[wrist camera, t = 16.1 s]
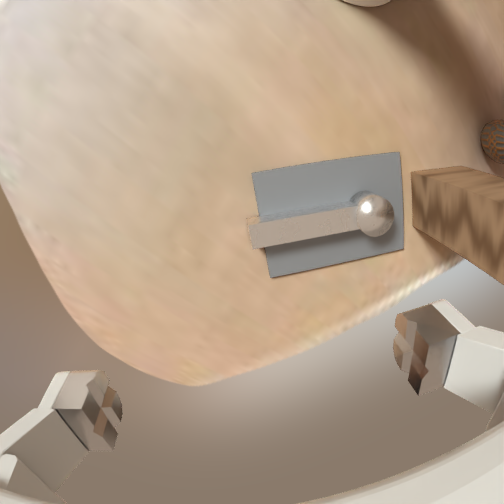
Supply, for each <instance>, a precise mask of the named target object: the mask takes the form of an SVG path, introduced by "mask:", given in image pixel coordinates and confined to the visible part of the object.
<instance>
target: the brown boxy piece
mask: <svg viewBox="0 0 504 504" xmlns="http://www.w3.org/2000/svg"><path fill="white" fill-rule="evenodd" d="M411 183H412V211H413V226H414V227H416V228H417V229H419V230H421V231H422V232H424V233H426V234H427V235H429V236H430V237H432V238H434V239H435V240H437V241H438V242H440V243H442V244H443V245H445V246H446V247H448V248H450V249H451V250H453V251H454V252H456V253H457V254H459V255H460V256H462V257H463V258H465V259H467V260H468V261H469V262H471V263H472V264H474V265H475V266H477V267H478V268H480V269H482V270H483V271H484V272H486V273H487V274H489V275H490V276H492V277H493V278H494V279H496V280H497V281H499V282H500V283H502V284H503V285H504V178H502V177H499V176H495V175H492V174H489V173H485V172H482V171H478V170H474V169H471V168H467V167H463V166H457V167H448V168H439V169H430V170H422V171H414V172H411Z"/></svg>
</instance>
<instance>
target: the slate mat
mask: <svg viewBox="0 0 504 504" xmlns="http://www.w3.org/2000/svg"><path fill="white" fill-rule="evenodd" d="M252 178H253V184H254V190H255V195H256V201H257V206H258V212H259V216H262V215H268V214H273V213H279V212H284V211H290V210H296V209H301V208H307V207H313V206H319V205H325V204H331V203H337V202H343V201H349V200H350V199H351V197H352V196H353V195H354V194H356V193H358V192H360V191H370V192H372V193H374V194H376V195H379V196H381V197H383V198H385V199H386V200H388V201H389V202H390V203H391V205H392V207H393V209H394V220H393V223H392V225H391V227H390V229H389V230H388V231H387V232H386V233H384V234H383V235H381V236H377V237H372V236H368V235H366V234H365V233H364V232H362V231H361V230H360V229H358V230H352V231H347V232H342V233H337V234H331V235H326V236H321V237H316V238H310V239H305V240H300V241H294V242H289V243H284V244H279V245H273V246H268V247H265V251H266V257H267V263H268V269H269V274H270V278H272V277H277V276H282V275H287V274H292V273H297V272H301V271H306V270H311V269H315V268H320V267H325V266H329V265H334V264H338V263H343V262H348V261H352V260H356V259H361V258H365V257H370V256H374V255H379V254H383V253H387V252H392V251H396V250H400V249H404V228H403V195H402V177H401V163H400V152H392V153H383V154H374V155H366V156H358V157H350V158H342V159H335V160H328V161H321V162H314V163H308V164H302V165H295V166H289V167H283V168H277V169H272V170H266V171H261V172H255V173H252Z"/></svg>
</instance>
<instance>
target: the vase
mask: <svg viewBox="0 0 504 504" xmlns="http://www.w3.org/2000/svg"><path fill="white" fill-rule="evenodd" d="M481 143H482V147H483V149H484V151H485V153H486V154H487V155H488V156H489V157H490V158H491V159H492V160H494V161H496V162H498V163H502V164H504V120H494V121H491V122H489V123H488V124H486V126H485V127H484V128H483V130H482V134H481Z"/></svg>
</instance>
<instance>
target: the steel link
mask: <svg viewBox="0 0 504 504" xmlns="http://www.w3.org/2000/svg"><path fill="white" fill-rule="evenodd" d="M246 219H247V225H248V230H249V236H250V241H251V245H252V249H258V248H263V247H268V246H273V245H279V244H284V243H289V242H294V241H300V240H305V239H310V238H316V237H321V236H326V235H331V234H337V233H342V232H347V231H352V230H358V229H360V230H361V231H362V232H364V233H365V234H366V235H368V236H372V237H377V236H381V235H383V234H384V233H386V232H387V231H388V230H389V229H390V227H391V225H392V223H393V220H394V209H393V207H392V205H391V203H390V202H389V201H388V200H386V199H385V198H383V197H381V196H379V195H376V194H374V193H372V192H370V191H360V192H358V193H356V194H354V195H353V196H352V197H351V199H350V200H349V201H343V202H337V203H331V204H325V205H319V206H313V207H307V208H301V209H296V210H290V211H284V212H279V213H273V214H268V215H262V216H257V217H252V218H246Z"/></svg>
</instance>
